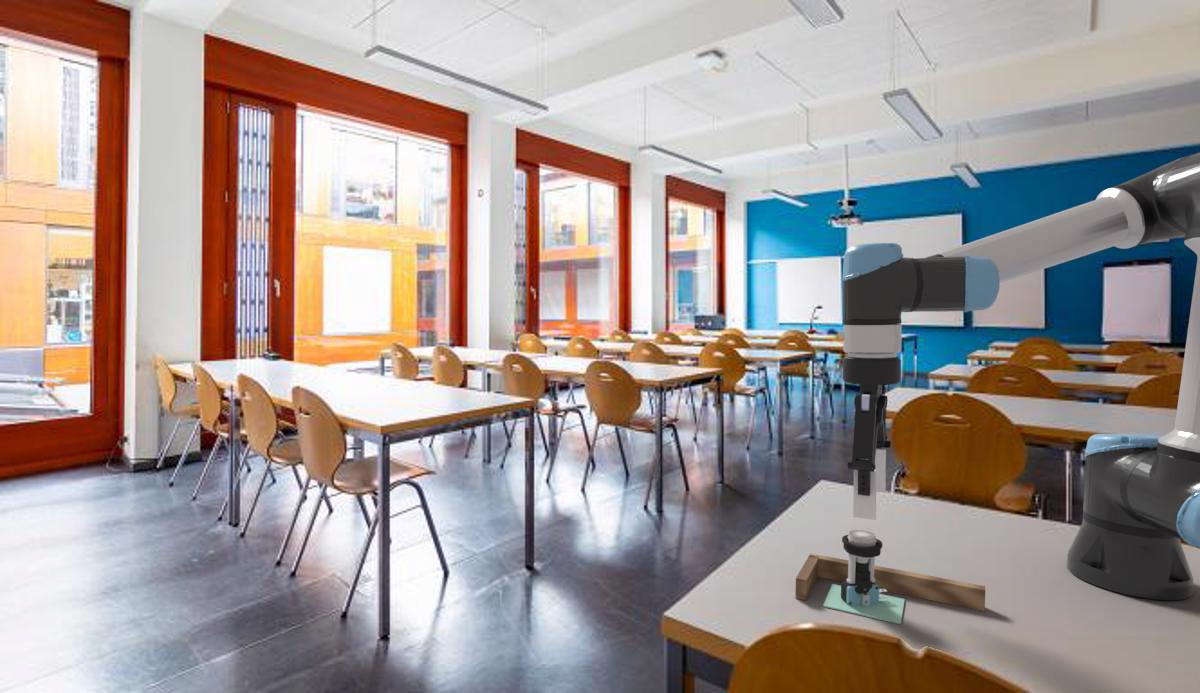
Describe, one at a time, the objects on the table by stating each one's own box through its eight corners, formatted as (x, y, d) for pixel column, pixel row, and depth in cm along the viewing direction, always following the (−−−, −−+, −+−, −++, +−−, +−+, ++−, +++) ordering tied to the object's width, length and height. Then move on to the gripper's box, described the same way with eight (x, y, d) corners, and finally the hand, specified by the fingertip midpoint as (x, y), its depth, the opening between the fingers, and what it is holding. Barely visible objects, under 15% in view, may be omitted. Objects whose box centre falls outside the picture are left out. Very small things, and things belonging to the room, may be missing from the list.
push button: (875, 592, 93) (877, 526, 92) (897, 609, 88) (899, 539, 87) (833, 594, 92) (835, 528, 91) (852, 612, 87) (854, 541, 86)
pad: (904, 600, 91) (904, 598, 91) (900, 624, 84) (900, 622, 84) (832, 585, 96) (832, 583, 96) (823, 606, 89) (823, 605, 89)
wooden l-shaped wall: (984, 606, 89) (984, 586, 89) (987, 641, 79) (988, 618, 79) (809, 571, 101) (810, 553, 100) (795, 598, 91) (795, 578, 91)
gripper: (854, 349, 100) (854, 479, 101) (827, 361, 79) (827, 526, 80) (906, 349, 97) (905, 484, 98) (893, 363, 75) (892, 535, 76)
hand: (870, 503), depth 89 cm, fingers open, 13 cm apart
